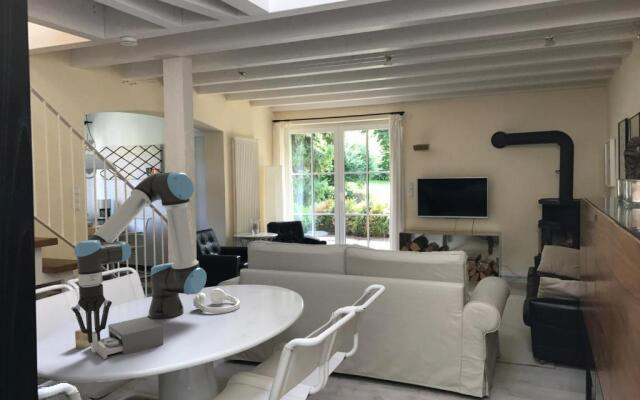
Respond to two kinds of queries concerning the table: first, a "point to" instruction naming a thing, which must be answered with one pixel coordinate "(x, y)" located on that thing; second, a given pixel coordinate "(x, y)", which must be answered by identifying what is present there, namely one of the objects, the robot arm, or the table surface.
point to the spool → (81, 340)
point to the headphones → (215, 301)
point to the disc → (113, 341)
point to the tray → (107, 349)
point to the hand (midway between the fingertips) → (94, 350)
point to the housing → (137, 334)
